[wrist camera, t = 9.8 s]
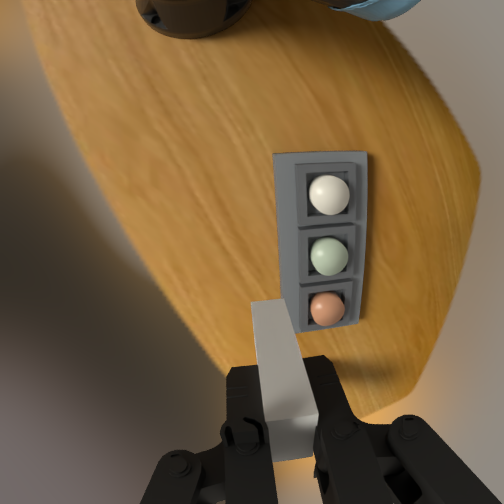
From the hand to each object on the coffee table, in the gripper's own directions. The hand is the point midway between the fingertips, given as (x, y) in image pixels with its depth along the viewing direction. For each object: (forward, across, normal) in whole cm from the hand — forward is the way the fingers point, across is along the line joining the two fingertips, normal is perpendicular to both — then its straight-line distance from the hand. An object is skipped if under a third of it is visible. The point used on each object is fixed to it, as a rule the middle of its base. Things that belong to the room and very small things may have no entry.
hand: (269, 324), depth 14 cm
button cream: (+24, +10, +1) cm, 26 cm away
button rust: (+24, +10, -15) cm, 30 cm away
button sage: (+24, +10, -7) cm, 27 cm away
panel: (+26, +10, -7) cm, 29 cm away
